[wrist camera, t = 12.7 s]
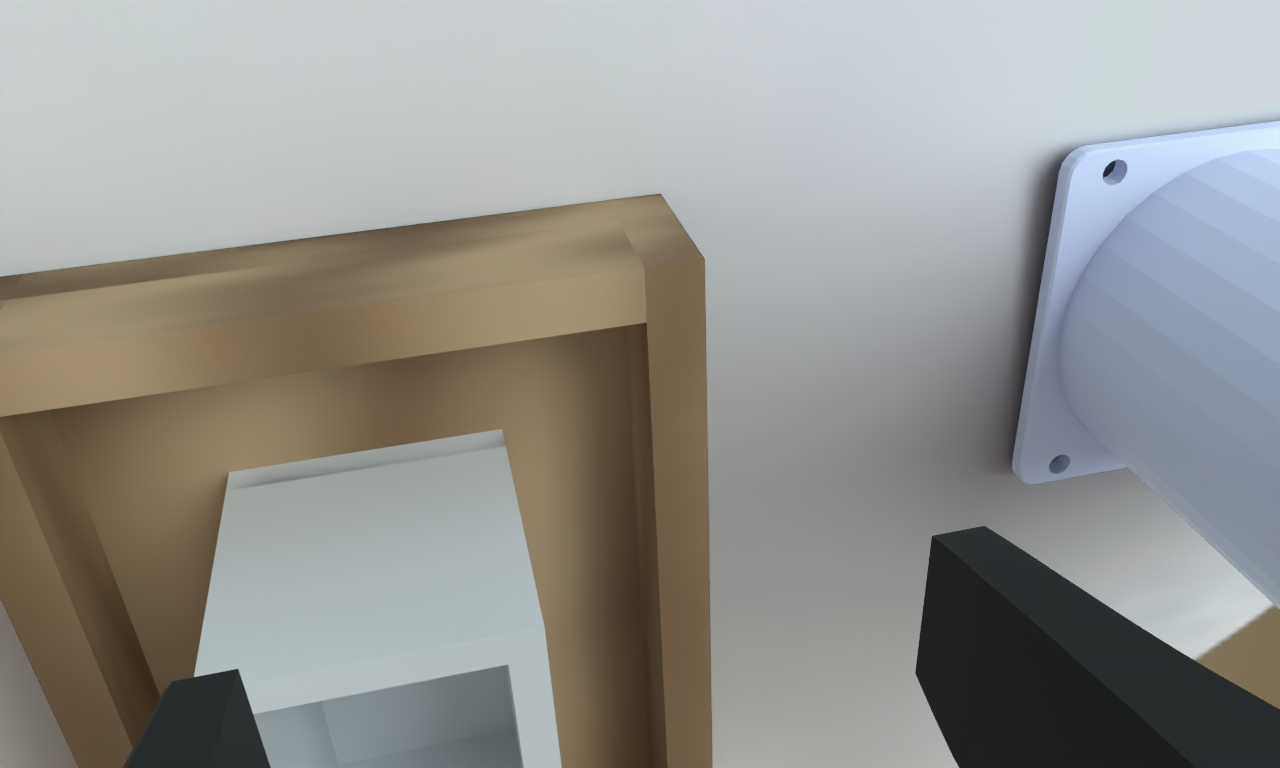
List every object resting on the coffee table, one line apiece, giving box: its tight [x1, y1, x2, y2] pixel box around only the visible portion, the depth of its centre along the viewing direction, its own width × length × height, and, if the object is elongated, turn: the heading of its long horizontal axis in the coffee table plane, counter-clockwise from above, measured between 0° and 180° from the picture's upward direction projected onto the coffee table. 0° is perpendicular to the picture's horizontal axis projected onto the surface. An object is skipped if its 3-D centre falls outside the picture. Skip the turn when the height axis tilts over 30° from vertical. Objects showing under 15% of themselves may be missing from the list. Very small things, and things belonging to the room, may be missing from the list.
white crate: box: [194, 429, 562, 768], centre depth 20 cm, size 5×8×6 cm, turn 3°
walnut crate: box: [0, 194, 712, 768], centre depth 22 cm, size 12×16×3 cm
